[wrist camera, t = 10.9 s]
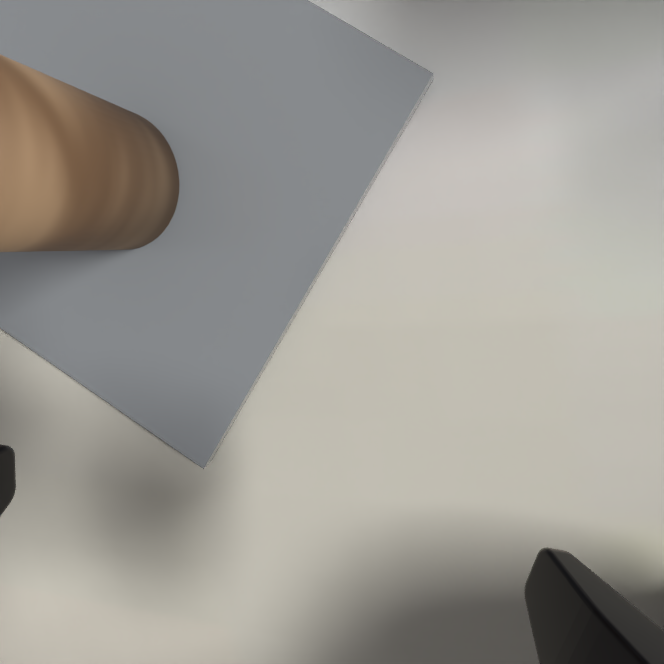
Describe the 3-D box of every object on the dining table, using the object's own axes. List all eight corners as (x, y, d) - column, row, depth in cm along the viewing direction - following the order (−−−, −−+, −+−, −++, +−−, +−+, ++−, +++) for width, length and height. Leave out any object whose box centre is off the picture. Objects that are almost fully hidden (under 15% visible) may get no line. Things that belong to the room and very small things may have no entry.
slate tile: (432, 79, 15) (433, 73, 15) (210, 462, 20) (203, 468, 20) (26, -159, 17) (11, -173, 16) (-92, 254, 22) (-106, 254, 21)
